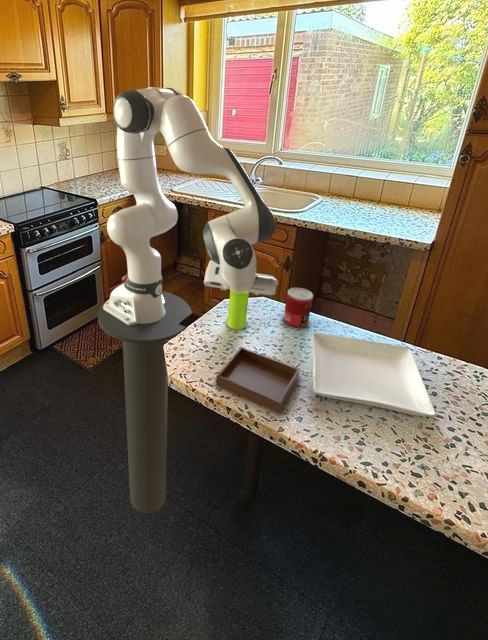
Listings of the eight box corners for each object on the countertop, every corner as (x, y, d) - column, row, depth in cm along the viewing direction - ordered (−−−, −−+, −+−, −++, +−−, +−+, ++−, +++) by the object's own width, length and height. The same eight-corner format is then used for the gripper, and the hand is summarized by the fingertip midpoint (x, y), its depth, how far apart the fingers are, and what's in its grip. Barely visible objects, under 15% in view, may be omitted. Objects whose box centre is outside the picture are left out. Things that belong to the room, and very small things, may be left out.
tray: (215, 385, 106) (216, 375, 105) (239, 355, 117) (240, 346, 116) (278, 413, 97) (280, 403, 96) (298, 378, 108) (300, 369, 107)
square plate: (309, 340, 124) (311, 330, 122) (407, 357, 117) (411, 346, 115) (310, 401, 101) (313, 389, 99) (433, 427, 93) (438, 415, 92)
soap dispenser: (243, 332, 128) (249, 277, 119) (224, 325, 131) (228, 271, 123) (251, 324, 132) (257, 270, 123) (232, 317, 136) (237, 264, 127)
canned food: (305, 330, 129) (310, 301, 124) (280, 323, 132) (285, 295, 127) (309, 319, 135) (315, 291, 130) (286, 313, 138) (290, 285, 133)
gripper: (280, 268, 105) (277, 284, 117) (204, 259, 110) (208, 275, 123) (277, 291, 103) (274, 305, 116) (200, 280, 108) (205, 295, 121)
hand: (240, 289), depth 119 cm, fingers open, 8 cm apart
